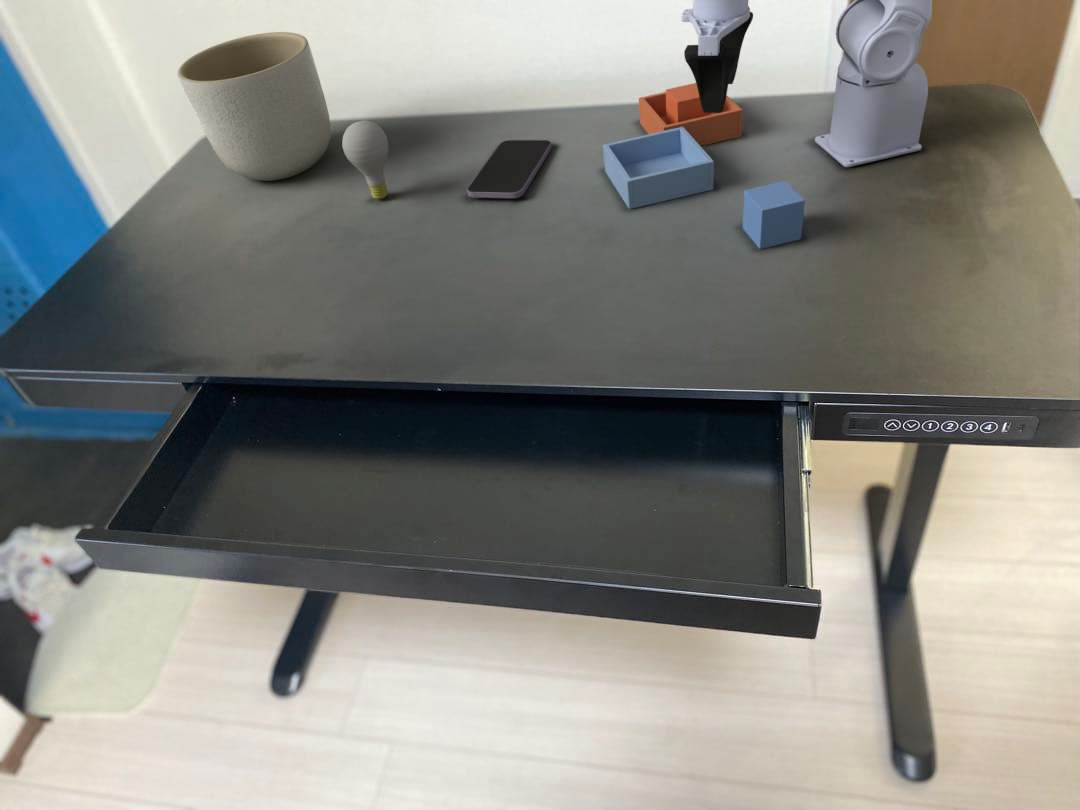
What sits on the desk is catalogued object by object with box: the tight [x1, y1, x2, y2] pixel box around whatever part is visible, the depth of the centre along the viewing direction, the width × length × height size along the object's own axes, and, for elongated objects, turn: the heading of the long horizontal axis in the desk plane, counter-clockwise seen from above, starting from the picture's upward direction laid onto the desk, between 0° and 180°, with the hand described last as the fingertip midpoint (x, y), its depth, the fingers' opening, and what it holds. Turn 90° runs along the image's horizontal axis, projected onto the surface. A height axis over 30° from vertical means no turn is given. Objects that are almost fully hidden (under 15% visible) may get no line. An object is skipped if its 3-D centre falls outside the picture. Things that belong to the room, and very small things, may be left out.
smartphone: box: [466, 139, 553, 199], centre depth 101 cm, size 7×1×15 cm
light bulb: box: [341, 120, 389, 201], centre depth 98 cm, size 6×6×10 cm
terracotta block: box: [665, 82, 711, 125], centre depth 102 cm, size 4×4×4 cm
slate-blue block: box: [742, 180, 806, 250], centre depth 82 cm, size 4×4×4 cm
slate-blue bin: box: [602, 127, 715, 210], centre depth 94 cm, size 10×10×4 cm
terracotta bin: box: [638, 91, 743, 147], centre depth 102 cm, size 10×10×4 cm
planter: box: [177, 31, 332, 182], centre depth 108 cm, size 17×17×15 cm
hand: (718, 96), depth 90 cm, fingers open, 7 cm apart
